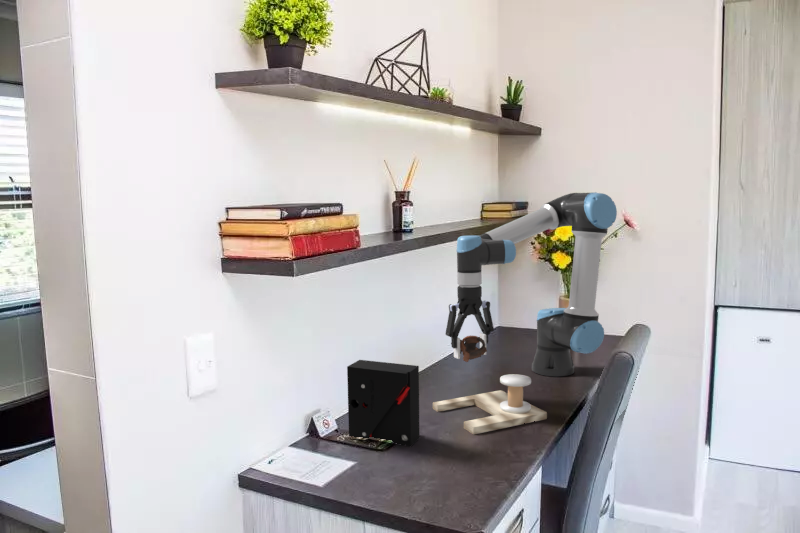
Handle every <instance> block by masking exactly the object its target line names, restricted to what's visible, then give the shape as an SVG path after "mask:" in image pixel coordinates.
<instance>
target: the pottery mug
mask: <svg viewBox="0 0 800 533" xmlns="http://www.w3.org/2000/svg"><path fill="white" fill-rule="evenodd" d="M480 342H481V343H482V347H481V348H480V347H479V348H478V347H477V344H480ZM452 349H453V350H454V348H452ZM485 352H486V353H488V349H487V346H486V347H485V342H484V340H483V339H482V338H480V336H477V335H467V336H464V337H463V339H460V355H462V356H463V357H462V360H463V361H464V362H466V363H469V361H470V360H474V359H477V358H481V357H482V356H484V355H483V354H484V353H485Z"/></svg>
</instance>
